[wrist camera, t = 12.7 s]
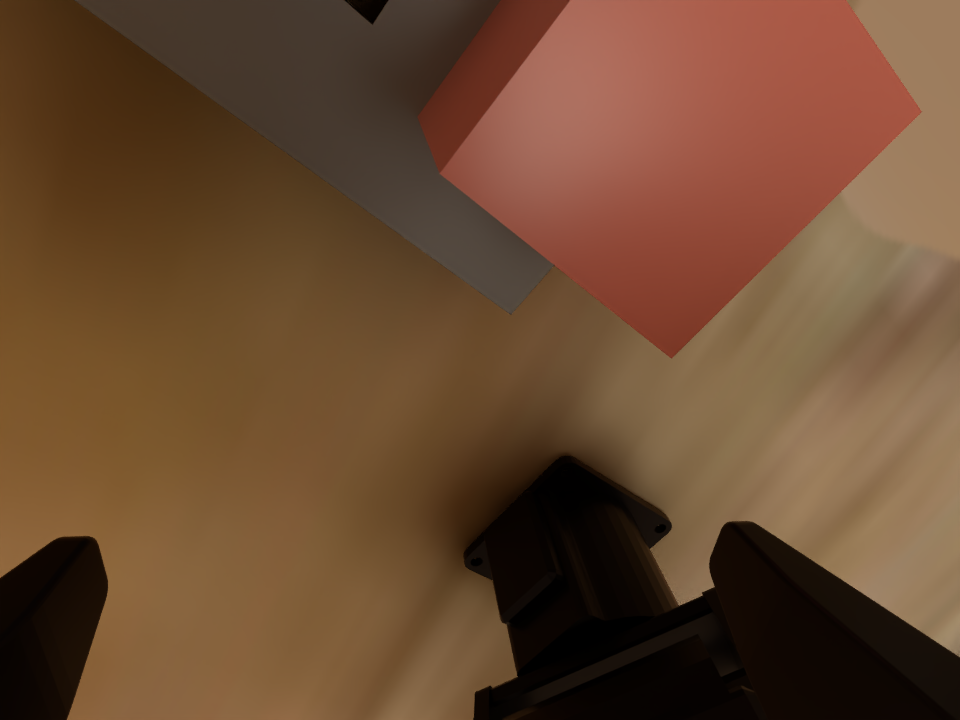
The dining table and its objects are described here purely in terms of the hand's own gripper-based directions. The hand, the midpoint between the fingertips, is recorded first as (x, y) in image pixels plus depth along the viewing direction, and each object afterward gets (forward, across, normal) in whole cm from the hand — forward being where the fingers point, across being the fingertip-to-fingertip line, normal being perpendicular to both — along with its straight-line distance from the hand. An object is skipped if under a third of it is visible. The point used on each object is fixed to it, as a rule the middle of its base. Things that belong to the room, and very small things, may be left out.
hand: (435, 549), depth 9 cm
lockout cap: (+8, -3, -6) cm, 10 cm away
